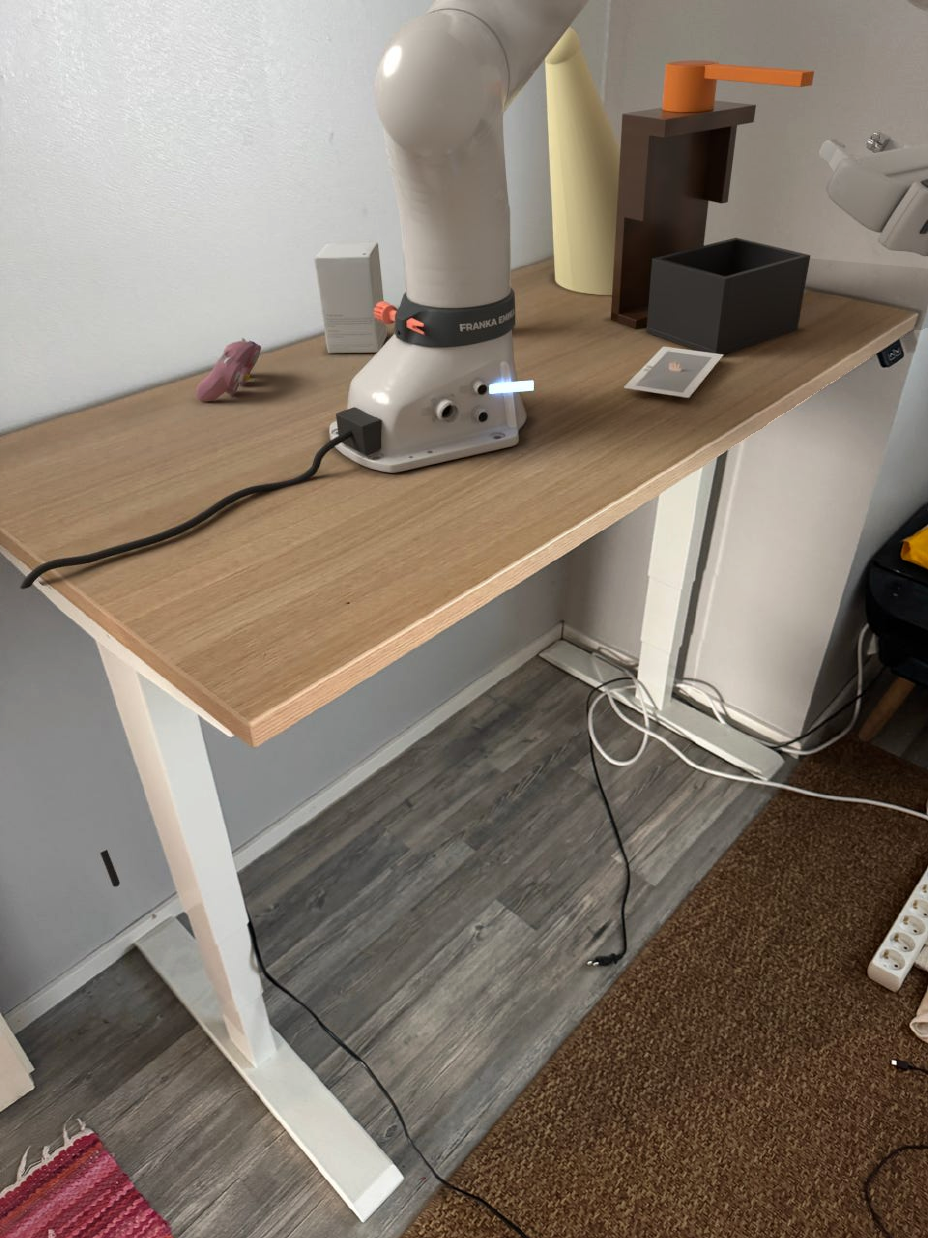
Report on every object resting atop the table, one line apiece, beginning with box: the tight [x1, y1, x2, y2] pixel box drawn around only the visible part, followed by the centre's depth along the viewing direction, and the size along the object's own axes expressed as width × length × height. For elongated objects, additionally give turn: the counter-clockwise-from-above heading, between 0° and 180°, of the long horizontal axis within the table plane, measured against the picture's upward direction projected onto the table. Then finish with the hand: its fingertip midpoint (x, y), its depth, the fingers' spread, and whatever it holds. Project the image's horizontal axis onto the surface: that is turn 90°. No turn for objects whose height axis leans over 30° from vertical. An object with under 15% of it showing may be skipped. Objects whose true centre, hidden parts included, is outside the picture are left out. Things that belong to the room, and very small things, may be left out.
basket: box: [646, 237, 812, 356], centre depth 122 cm, size 16×13×10 cm
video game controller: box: [195, 337, 262, 403], centre depth 113 cm, size 10×5×7 cm, turn 168°
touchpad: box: [623, 346, 724, 399], centre depth 111 cm, size 8×15×2 cm, turn 152°
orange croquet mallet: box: [661, 59, 815, 112], centre depth 110 cm, size 6×21×5 cm, turn 35°
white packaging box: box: [313, 241, 388, 354], centre depth 122 cm, size 7×7×13 cm
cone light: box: [544, 26, 620, 296], centre depth 135 cm, size 25×18×35 cm
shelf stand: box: [610, 100, 757, 330], centre depth 124 cm, size 16×8×26 cm, turn 125°
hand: (849, 141), depth 100 cm, fingers open, 8 cm apart
